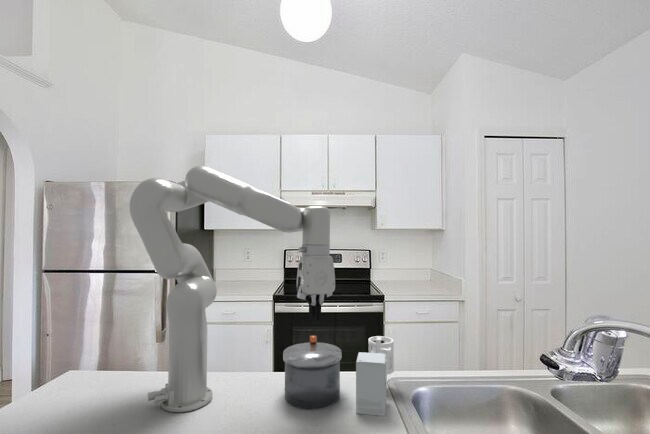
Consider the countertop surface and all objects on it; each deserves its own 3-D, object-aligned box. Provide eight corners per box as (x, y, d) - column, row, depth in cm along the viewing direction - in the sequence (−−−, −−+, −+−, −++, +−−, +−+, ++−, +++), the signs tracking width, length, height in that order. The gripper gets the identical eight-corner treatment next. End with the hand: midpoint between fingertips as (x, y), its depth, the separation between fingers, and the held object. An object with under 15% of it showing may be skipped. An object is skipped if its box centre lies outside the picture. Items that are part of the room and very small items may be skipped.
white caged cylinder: (365, 392, 94) (365, 337, 95) (372, 382, 100) (371, 331, 101) (391, 397, 91) (390, 340, 92) (396, 386, 98) (395, 333, 98)
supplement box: (386, 417, 82) (385, 363, 82) (355, 413, 83) (355, 361, 84) (386, 402, 89) (386, 353, 89) (358, 399, 90) (358, 351, 91)
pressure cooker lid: (301, 373, 82) (301, 358, 82) (273, 354, 95) (273, 341, 95) (353, 359, 91) (353, 346, 91) (320, 344, 104) (320, 332, 104)
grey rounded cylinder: (302, 415, 82) (302, 373, 83) (275, 391, 95) (275, 355, 95) (351, 398, 90) (350, 360, 91) (320, 379, 103) (320, 345, 103)
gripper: (298, 252, 86) (297, 326, 85) (345, 251, 94) (345, 318, 93) (285, 251, 92) (283, 319, 91) (330, 250, 100) (329, 313, 99)
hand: (314, 319), depth 92 cm, fingers closed
